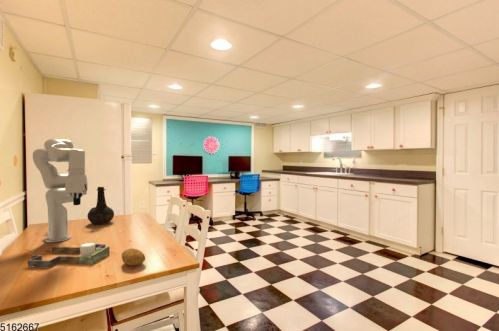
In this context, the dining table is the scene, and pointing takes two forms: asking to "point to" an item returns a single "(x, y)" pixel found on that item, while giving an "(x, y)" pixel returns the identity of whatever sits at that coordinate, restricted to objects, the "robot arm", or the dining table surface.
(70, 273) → the dining table surface
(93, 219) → the glass bottle
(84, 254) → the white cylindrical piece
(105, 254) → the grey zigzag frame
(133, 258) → the potato
